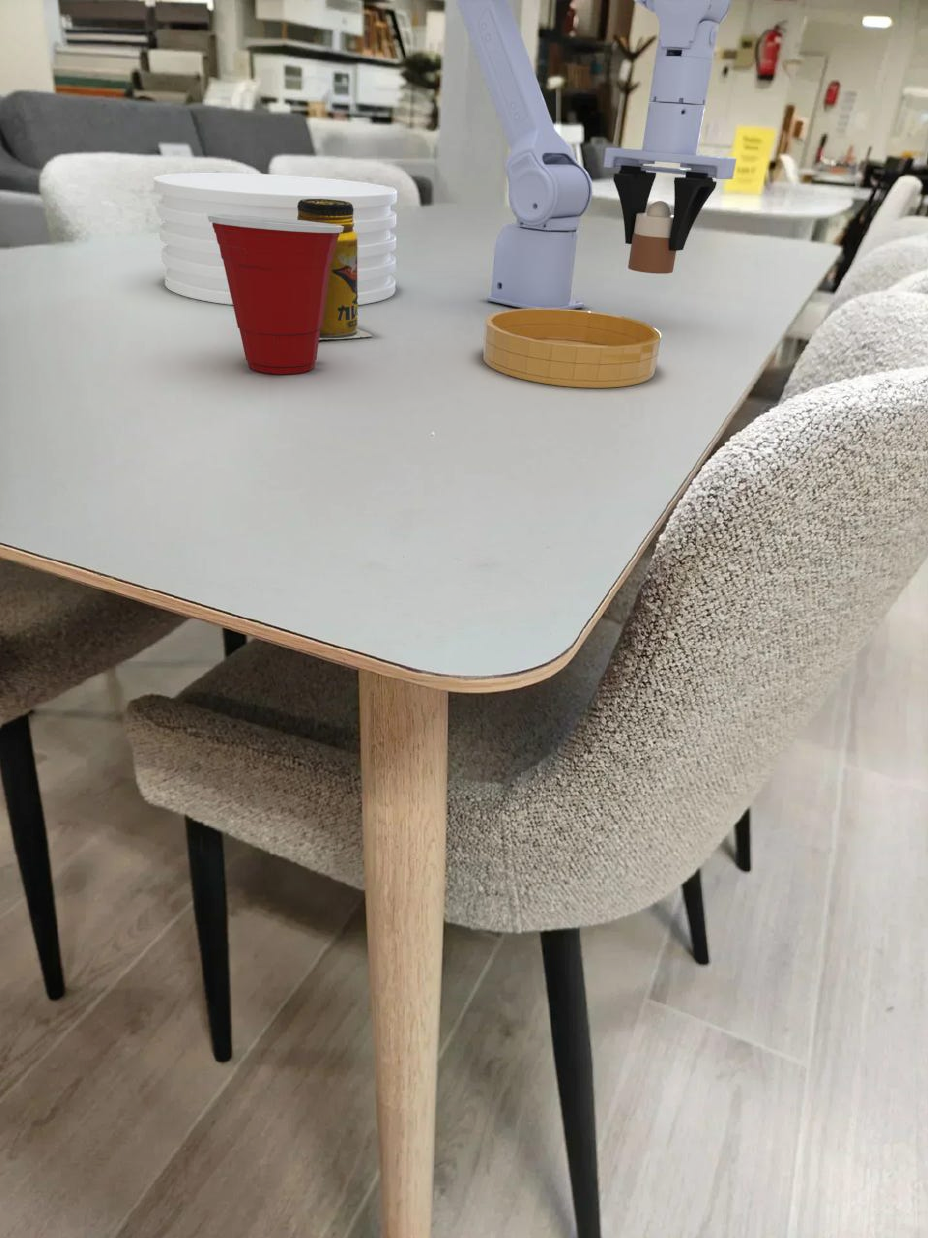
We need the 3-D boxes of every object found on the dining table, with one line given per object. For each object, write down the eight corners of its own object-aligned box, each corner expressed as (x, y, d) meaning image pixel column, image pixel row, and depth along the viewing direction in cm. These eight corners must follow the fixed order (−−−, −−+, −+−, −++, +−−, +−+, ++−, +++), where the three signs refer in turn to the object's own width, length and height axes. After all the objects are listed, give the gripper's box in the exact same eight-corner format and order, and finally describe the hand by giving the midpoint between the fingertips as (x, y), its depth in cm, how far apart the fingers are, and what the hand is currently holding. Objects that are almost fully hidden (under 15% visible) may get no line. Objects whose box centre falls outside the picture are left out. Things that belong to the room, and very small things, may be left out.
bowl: (447, 358, 80) (449, 319, 79) (549, 336, 91) (553, 302, 90) (591, 398, 72) (597, 356, 70) (685, 369, 82) (692, 331, 81)
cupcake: (619, 268, 96) (629, 198, 93) (642, 264, 100) (652, 197, 96) (658, 275, 94) (670, 203, 90) (680, 271, 97) (692, 202, 93)
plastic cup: (365, 360, 78) (366, 215, 72) (309, 389, 69) (304, 226, 63) (260, 344, 81) (252, 203, 75) (192, 370, 72) (177, 212, 66)
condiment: (373, 337, 86) (374, 205, 80) (294, 343, 82) (289, 204, 76) (340, 322, 91) (339, 197, 85) (265, 327, 87) (258, 196, 81)
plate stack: (384, 315, 95) (385, 201, 90) (131, 298, 95) (116, 183, 89) (403, 274, 120) (405, 183, 114) (201, 261, 119) (193, 168, 113)
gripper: (759, 109, 87) (730, 253, 94) (635, 102, 95) (617, 236, 102) (728, 105, 82) (700, 257, 89) (601, 99, 90) (584, 239, 97)
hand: (654, 246), depth 95 cm, fingers closed on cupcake, 5 cm apart
